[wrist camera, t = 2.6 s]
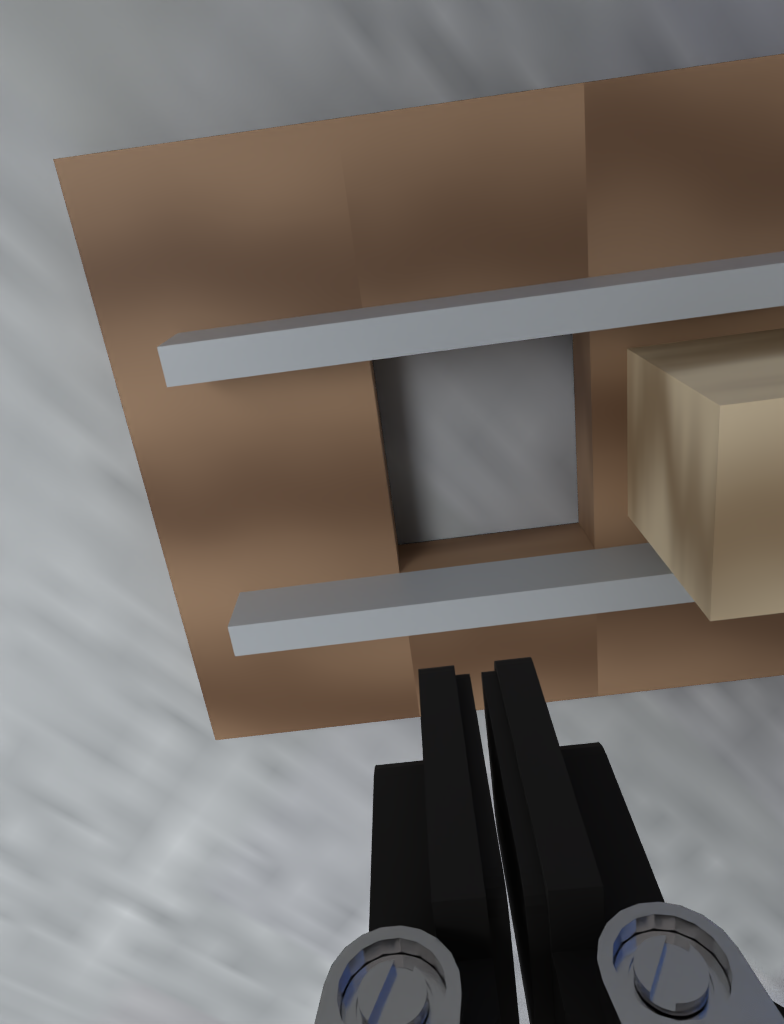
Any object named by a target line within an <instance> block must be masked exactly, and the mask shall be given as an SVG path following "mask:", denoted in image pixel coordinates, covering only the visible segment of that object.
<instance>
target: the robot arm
mask: <svg viewBox="0 0 784 1024" xmlns="http://www.w3.org/2000/svg"><path fill="white" fill-rule="evenodd" d="M418 677H419V694H420V712H421V729H422V747H423V761H413V762H404V763H394V764H384V765H376V766H375V770H374V792H373V823H372V855H371V887H370V918H369V932H368V933H366V934H363V935H361V936H360V937H358V938H357V939H356V940H354V941H353V942H352V943H350V944H349V945H348V946H346V947H345V948H344V949H343V951H342V952H341V953H340V955H339V956H338V957H337V958H336V960H335V961H334V962H333V964H332V965H331V968H330V970H329V973H328V975H327V978H326V980H325V983H324V986H323V990H322V994H321V998H320V1003H319V1007H318V1011H317V1015H316V1019H315V1024H519V1014H518V1003H517V993H516V983H515V972H514V962H513V952H512V941H511V931H510V921H509V911H508V902H507V895H506V887H505V880H506V886H507V892H508V898H509V904H510V910H511V915H512V921H513V927H514V933H515V939H516V945H517V951H518V957H519V963H520V968H521V974H522V980H523V986H524V992H525V998H526V1004H527V1010H528V1015H529V1021H530V1024H784V1007H782V1006H780V1005H779V1004H777V1003H775V1002H774V1001H772V999H771V998H770V996H769V995H768V993H767V992H766V990H765V989H764V987H763V986H762V984H761V982H760V981H759V979H758V978H757V976H756V975H755V973H754V972H753V970H752V968H751V967H750V965H749V964H748V962H747V961H746V959H745V958H744V956H743V955H742V953H741V951H740V950H739V948H738V947H737V946H736V945H735V943H734V942H733V941H732V940H731V939H730V937H729V936H728V935H727V934H726V933H725V932H724V930H723V929H722V928H720V927H719V926H717V925H716V924H715V923H713V922H712V921H711V920H709V919H708V918H707V917H705V916H704V915H702V914H700V913H697V912H695V911H693V910H690V909H688V908H686V907H683V906H681V905H675V904H669V903H665V902H664V899H663V897H662V894H661V892H660V889H659V887H658V884H657V882H656V879H655V877H654V874H653V871H652V869H651V866H650V864H649V861H648V859H647V856H646V854H645V851H644V849H643V846H642V844H641V841H640V839H639V836H638V833H637V831H636V828H635V826H634V823H633V821H632V818H631V816H630V813H629V811H628V808H627V806H626V803H625V801H624V798H623V795H622V793H621V790H620V788H619V785H618V783H617V780H616V778H615V775H614V773H613V770H612V768H611V765H610V763H609V760H608V758H607V755H606V753H605V751H604V748H603V746H602V745H601V744H600V743H599V742H597V743H588V744H578V745H568V746H559V743H558V740H557V737H556V733H555V730H554V727H553V724H552V721H551V718H550V714H549V711H548V708H547V705H546V702H545V698H544V695H543V692H542V689H541V686H540V682H539V679H538V676H537V673H536V670H535V667H534V663H533V660H532V658H531V657H524V658H515V659H506V660H497V661H494V671H488V672H481V678H482V689H483V699H484V709H485V719H486V729H487V739H488V749H489V759H490V769H491V779H492V789H493V799H494V809H495V818H496V826H497V832H496V826H495V820H494V814H493V808H492V802H491V796H490V790H489V784H488V779H487V773H486V767H485V761H484V755H483V749H482V743H481V737H480V731H479V725H478V719H477V713H476V707H475V701H474V696H473V690H472V684H471V678H470V673H469V674H460V675H455V668H454V665H451V666H442V667H433V668H424V669H418ZM497 833H498V838H497ZM498 839H499V844H498ZM499 845H500V850H499ZM500 851H501V856H500ZM501 857H502V861H501ZM502 862H503V867H502ZM503 868H504V874H505V880H504V874H503Z"/></svg>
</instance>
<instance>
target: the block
mask: <svg viewBox="0 0 784 1024" xmlns="http://www.w3.org/2000/svg"><path fill="white" fill-rule="evenodd" d="M627 460H628V516H629V518H630V519H631V520H632V522H633V523H634V524H635V525H636V527H637V528H638V529H639V531H640V532H641V533H642V534H643V536H644V537H645V538H646V540H647V541H648V542H649V543H650V545H651V546H652V547H653V549H654V550H655V551H656V552H657V554H658V555H659V556H660V558H661V559H662V560H663V561H664V563H665V564H666V565H667V567H668V568H669V569H670V570H671V572H672V573H673V574H674V576H675V577H676V578H677V579H678V581H679V582H680V583H681V585H682V586H683V587H684V588H685V590H686V591H687V592H688V593H689V595H690V596H691V597H692V599H693V600H694V601H695V602H696V604H697V605H698V606H699V608H700V609H701V610H702V611H703V613H704V614H705V615H706V617H707V618H708V619H709V620H710V621H717V620H725V619H734V618H742V617H751V616H759V615H768V614H776V613H784V328H780V329H773V330H765V331H757V332H750V333H742V334H734V335H727V336H719V337H712V338H704V339H696V340H689V341H681V342H674V343H666V344H658V345H651V346H643V347H635V348H628V349H627Z"/></svg>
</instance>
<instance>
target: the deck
mask: <svg viewBox="0 0 784 1024" xmlns="http://www.w3.org/2000/svg"><path fill="white" fill-rule="evenodd" d="M53 160H54V163H55V167H56V171H57V174H58V178H59V181H60V185H61V189H62V192H63V196H64V199H65V203H66V206H67V210H68V214H69V217H70V221H71V224H72V228H73V231H74V235H75V239H76V242H77V246H78V249H79V253H80V257H81V260H82V264H83V267H84V271H85V274H86V278H87V282H88V285H89V289H90V292H91V296H92V299H93V303H94V307H95V310H96V314H97V317H98V321H99V325H100V328H101V332H102V335H103V339H104V342H105V346H106V350H107V353H108V357H109V360H110V364H111V367H112V371H113V375H114V378H115V382H116V385H117V389H118V393H119V396H120V400H121V403H122V407H123V410H124V414H125V418H126V421H127V425H128V428H129V432H130V435H131V439H132V443H133V446H134V450H135V453H136V457H137V461H138V464H139V468H140V471H141V475H142V478H143V482H144V486H145V489H146V493H147V496H148V500H149V503H150V507H151V511H152V514H153V518H154V521H155V525H156V529H157V532H158V536H159V539H160V543H161V546H162V550H163V554H164V557H165V561H166V564H167V568H168V571H169V575H170V579H171V582H172V586H173V589H174V593H175V597H176V600H177V604H178V607H179V611H180V614H181V618H182V622H183V625H184V629H185V632H186V636H187V639H188V643H189V647H190V650H191V654H192V657H193V661H194V665H195V668H196V672H197V675H198V679H199V682H200V686H201V690H202V693H203V697H204V700H205V704H206V707H207V711H208V715H209V718H210V722H211V725H212V729H213V732H214V736H215V740H221V739H230V738H238V737H247V736H256V735H264V734H273V733H282V732H291V731H299V730H308V729H317V728H326V727H334V726H343V725H352V724H360V723H369V722H378V721H387V720H395V719H404V718H413V717H421V712H420V694H419V677H418V669H424V668H433V667H442V666H451V665H454V668H455V675H460V674H469V673H470V678H471V684H472V690H473V696H474V701H475V707H476V710H483V709H484V699H483V689H482V678H481V672H488V671H494V661H497V660H506V659H515V658H524V657H531V658H532V660H533V663H534V667H535V670H536V673H537V676H538V679H539V682H540V686H541V689H542V692H543V695H544V698H545V702H552V701H561V700H570V699H579V698H587V697H596V696H605V695H614V694H622V693H631V692H640V691H648V690H657V689H666V688H675V687H683V686H692V685H701V684H710V683H718V682H727V681H736V680H744V679H753V678H762V677H771V676H779V675H784V613H776V614H768V615H759V616H751V617H742V618H734V619H725V620H717V621H710V620H709V619H708V618H707V617H706V615H705V614H704V613H703V611H702V610H701V609H700V608H699V606H698V605H697V604H696V602H689V603H680V604H672V605H663V606H655V607H647V608H638V609H630V610H621V611H613V612H604V613H596V614H588V615H579V616H571V617H562V618H554V619H545V620H537V621H529V622H520V623H512V624H503V625H495V626H486V627H478V628H470V629H461V630H453V631H444V632H436V633H427V634H419V635H411V636H402V637H394V638H385V639H377V640H368V641H360V642H352V643H343V644H335V645H326V646H318V647H309V648H301V649H293V650H284V651H276V652H267V653H259V654H250V655H242V656H235V654H234V650H233V646H232V642H231V638H230V634H229V631H228V625H229V622H230V619H231V616H232V613H233V610H234V608H235V605H236V602H237V599H238V596H239V593H240V592H249V591H257V590H265V589H273V588H281V587H290V586H298V585H306V584H314V583H322V582H331V581H339V580H347V579H355V578H363V577H372V576H380V575H388V574H396V573H405V572H413V571H421V570H429V569H437V568H446V567H454V566H462V565H470V564H478V563H487V562H495V561H503V560H511V559H520V558H528V557H536V556H544V555H552V554H561V553H569V552H577V551H585V550H593V549H602V548H610V547H618V546H626V545H634V544H643V543H649V542H648V541H647V540H646V538H645V537H644V536H643V534H642V533H641V532H640V531H639V529H638V528H637V527H636V525H635V524H634V523H633V522H632V520H631V519H630V518H629V516H628V460H627V349H628V348H635V347H643V346H651V345H658V344H666V343H674V342H681V341H689V340H696V339H704V338H712V337H719V336H727V335H734V334H742V333H750V332H757V331H765V330H773V329H780V328H784V306H777V307H770V308H762V309H754V310H747V311H739V312H732V313H724V314H717V315H709V316H702V317H694V318H687V319H679V320H671V321H664V322H656V323H649V324H641V325H634V326H626V327H619V328H611V329H603V330H596V331H588V332H581V333H573V363H574V394H575V425H576V455H577V486H578V517H579V523H572V524H564V525H556V526H548V527H540V528H532V529H524V530H516V531H507V532H499V533H491V534H483V535H475V536H467V537H459V538H451V539H443V540H434V541H426V542H418V543H410V544H402V545H398V540H397V533H396V526H395V519H394V511H393V504H392V497H391V490H390V483H389V476H388V468H387V461H386V454H385V447H384V440H383V433H382V425H381V418H380V411H379V404H378V397H377V389H376V382H375V375H374V368H373V361H372V360H369V361H362V362H354V363H347V364H339V365H332V366H324V367H317V368H309V369H301V370H294V371H286V372H279V373H271V374H264V375H256V376H249V377H241V378H233V379H226V380H218V381H211V382H203V383H196V384H188V385H181V386H173V387H167V385H166V381H165V377H164V373H163V369H162V365H161V361H160V357H159V353H158V349H157V347H158V346H159V345H161V344H162V343H164V342H165V341H167V340H168V339H170V338H171V337H173V336H174V335H176V334H177V333H182V332H190V331H197V330H205V329H212V328H219V327H227V326H234V325H242V324H249V323H256V322H264V321H271V320H279V319H286V318H293V317H301V316H308V315H316V314H323V313H330V312H338V311H345V310H353V309H360V308H367V307H375V306H382V305H390V304H397V303H404V302H412V301H419V300H427V299H434V298H441V297H449V296H456V295H464V294H471V293H478V292H486V291H493V290H501V289H508V288H516V287H523V286H530V285H538V284H545V283H553V282H560V281H567V280H575V279H582V278H590V277H597V276H604V275H612V274H619V273H627V272H634V271H641V270H649V269H656V268H664V267H671V266H678V265H686V264H693V263H701V262H708V261H715V260H723V259H730V258H738V257H745V256H752V255H760V254H767V253H775V252H782V251H784V54H778V55H772V56H765V57H758V58H751V59H744V60H737V61H730V62H723V63H716V64H709V65H702V66H695V67H689V68H682V69H675V70H668V71H661V72H654V73H647V74H640V75H633V76H626V77H619V78H612V79H606V80H599V81H592V82H585V83H578V84H571V85H564V86H557V87H550V88H543V89H536V90H529V91H523V92H516V93H509V94H502V95H495V96H488V97H481V98H474V99H467V100H460V101H453V102H446V103H440V104H433V105H426V106H419V107H412V108H405V109H398V110H391V111H384V112H377V113H370V114H363V115H356V116H350V117H343V118H336V119H329V120H322V121H315V122H308V123H301V124H294V125H287V126H280V127H273V128H267V129H260V130H253V131H246V132H239V133H232V134H225V135H218V136H211V137H204V138H197V139H190V140H184V141H177V142H170V143H163V144H156V145H149V146H142V147H135V148H128V149H121V150H114V151H107V152H101V153H94V154H87V155H80V156H73V157H66V158H59V159H53Z"/></svg>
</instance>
